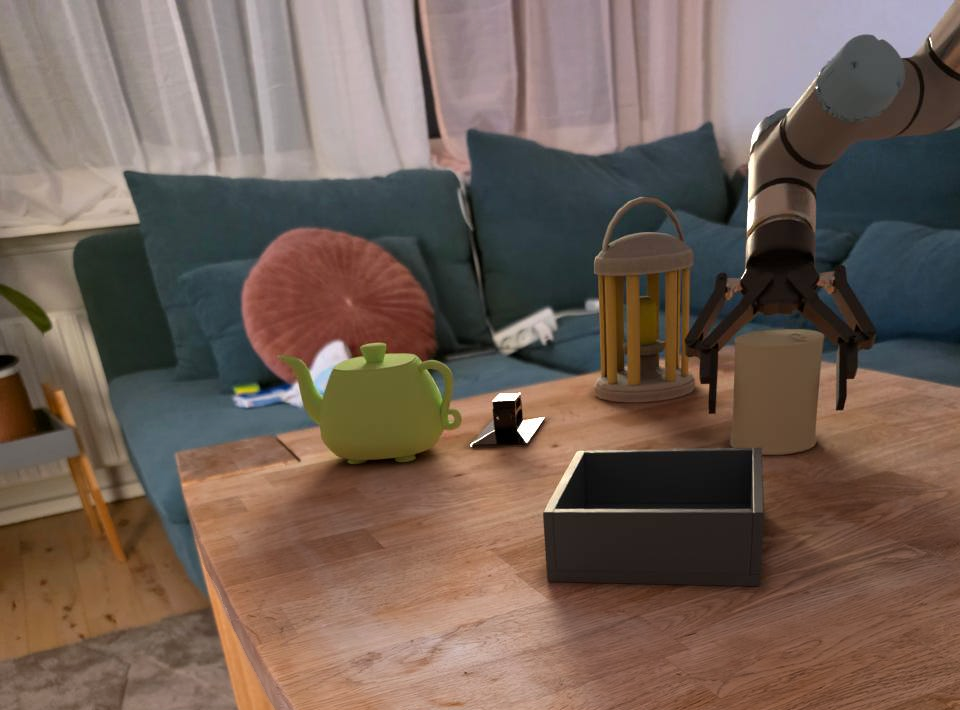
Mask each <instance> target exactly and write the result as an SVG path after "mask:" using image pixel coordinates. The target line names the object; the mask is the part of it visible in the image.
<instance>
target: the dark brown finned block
mask: <svg viewBox="0 0 960 710" xmlns="http://www.w3.org/2000/svg"><path fill="white" fill-rule="evenodd" d="M522 401H523V400H522V394H521V392H518V393H499V394H498V395H497V396H496V397H495V398H494V399H493V400H492V420H491V421H490V422H489V423H488V424H487V426H486V427H485V428H484V429H483V430H482V432H480V433H479V435H478V436H477V437H476V438H475V439H474V441H473V442H471V444H470V447H471V448H490V447H492V448H493V447H497V448H498V447H527V446H528V445H529V443H530V442H531V440H532V439H533V438H534V436H535V434H536V433H537V431H538V430H539V429H540V427H541V425H542V424H543V423H544V421H545V419H546V418H545V416H526V417H524V413H523V402H522Z"/></svg>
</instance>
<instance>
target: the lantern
mask: <svg viewBox="0 0 960 710" xmlns="http://www.w3.org/2000/svg"><path fill="white" fill-rule="evenodd" d="M641 204H649V205H654V206H656V207H657V208H659V209H660V210H662V211H663V212H664V213H665V214H666V216H667V217H668V218H669V220H670V221H671V223H672V225H673V228H674V231H675V234H676V236H674V235H671V234H667V233H665V232H664V233H663V232H657V231H644V232H643V231H642V232H637V233H631V234H627V235H624V236H622V237H619V238H617V239H615V240H613V241H611V238H612V235H613V231H614V229H615V227H616V226H617V225H618V223H619V221H620V219H621V218H622V216H624V214H626V213H627V212H628V211H629V210H631V209H632V208H633V207H636V206H639V205H641ZM610 241H611V242H610ZM694 257H695V256H694V251H693V250H692V248H690V247H689V245H687V244H686V243H685V235H684V232H683V229H682V227H681V224H680V221H679V218H678V217H677V216H676V214H675V212H673V210H672V209H671V207H670V206H669V205H667V204H666V203H664V202H663V201H661V200H660V199H658V198H655V197H645V196H639V197H637V198H634V199H631V200H629V201H627V202H626V203H625V204H623V206H621V207H620V208H619V209H617V210H616V212H615V214H614V216H613V217H612V219H611V220H610V221H609V224H608V226H607V228H606V232H605V235H604V238H603V241H602V247H601V250H600V251H599V253H598V255H596V256H595V258H594V261H593V262H594V263H593V273H594V275H597V277H598V280H597V281H598V313H599V345H600V346H599V347H600V351H599V352H600V376H599V377H597V379H596V381H595V382H594V396H595V397H597V398H599V399H601V400H605V401H609V402H617V403H618V402H619V403H649V402H650V403H651V402H659V401H666V400H672V399H675V398H680V397H683V396H686V395H688V394H691V393H692V392H693V391H694V390H695V389H696V378H695V376H694V375H693V374H692V372H691V371H690V370H689V360H690V359H689V358H690V357H687V356H686V355H685V338H686V336H687V335H688V333H689V331H690V295H691V294H690V291H691V290H690V287H691V285H690V283H691V267H693V266H694V265H695V263H694V262H695V258H694ZM681 270H682V271H681ZM661 273H665V275H664V277H665V279H664V283H665V285H664V289H665V290H664V291H665V293H664V295H665V296H664V297H665V298H664V300H665V301H664V302H665V303H664V307H665V308H664V330H665V331H664V339H662V338H660V274H661ZM640 275H641V276H642V275H646V295H642V296H640V295H641V294H640V292H641V291H640ZM624 276H625V279H626V281H625V285H626V287H625V289H626V295H625V296H626V341H625V322H624V317H625V316H624V313H625V312H624ZM680 323H681V324H680ZM680 336H681V337H680ZM680 338H681V341H680ZM680 343H681V344H680ZM680 345H681V347H680ZM680 348H681V349H680ZM680 350H681V353H680ZM662 352H664V365H660V353H662ZM680 354H681V355H680ZM625 355H627V357H626V358H627V367H625ZM680 357H681V359H680Z"/></svg>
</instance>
